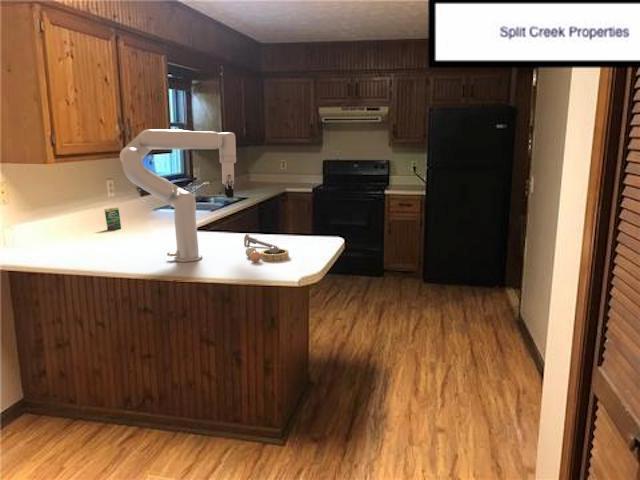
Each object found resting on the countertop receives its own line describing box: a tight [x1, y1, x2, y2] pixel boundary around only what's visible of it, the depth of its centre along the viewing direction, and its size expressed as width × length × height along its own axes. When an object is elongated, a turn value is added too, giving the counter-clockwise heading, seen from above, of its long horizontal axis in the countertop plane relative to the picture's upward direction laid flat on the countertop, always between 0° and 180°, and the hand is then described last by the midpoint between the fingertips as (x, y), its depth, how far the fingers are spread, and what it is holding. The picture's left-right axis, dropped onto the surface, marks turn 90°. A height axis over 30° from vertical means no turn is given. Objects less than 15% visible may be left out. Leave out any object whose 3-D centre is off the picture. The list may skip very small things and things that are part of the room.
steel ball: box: [268, 246, 280, 254], centre depth 237 cm, size 5×5×5 cm
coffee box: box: [104, 207, 122, 231], centre depth 317 cm, size 8×3×13 cm, turn 118°
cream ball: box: [245, 246, 257, 258], centre depth 238 cm, size 5×5×5 cm
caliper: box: [243, 233, 280, 249], centre depth 259 cm, size 20×1×6 cm, turn 63°
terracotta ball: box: [249, 250, 262, 263], centre depth 229 cm, size 5×5×5 cm
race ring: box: [260, 248, 290, 263], centre depth 236 cm, size 12×12×3 cm
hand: (229, 196), depth 242 cm, fingers open, 9 cm apart
